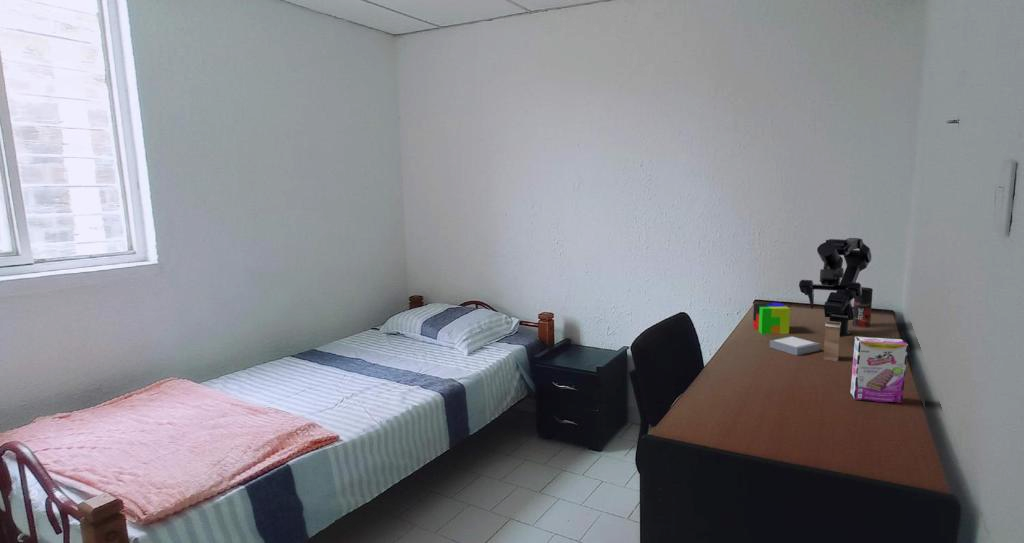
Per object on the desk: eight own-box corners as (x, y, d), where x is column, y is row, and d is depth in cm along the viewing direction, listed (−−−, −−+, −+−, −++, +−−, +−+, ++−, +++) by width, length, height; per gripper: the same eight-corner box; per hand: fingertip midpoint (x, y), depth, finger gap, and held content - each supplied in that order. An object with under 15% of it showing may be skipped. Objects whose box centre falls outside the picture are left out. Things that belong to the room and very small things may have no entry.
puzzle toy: (778, 327, 220) (780, 302, 219) (788, 334, 210) (790, 308, 209) (753, 327, 221) (753, 303, 220) (761, 334, 211) (762, 308, 210)
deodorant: (853, 327, 217) (856, 289, 214) (851, 323, 222) (853, 286, 220) (871, 328, 214) (874, 290, 212) (868, 324, 220) (870, 287, 218)
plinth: (791, 342, 199) (791, 335, 198) (819, 350, 189) (819, 343, 189) (769, 347, 194) (769, 340, 194) (797, 355, 184) (797, 347, 184)
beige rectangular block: (824, 355, 183) (826, 320, 181) (838, 357, 181) (840, 322, 179) (823, 359, 180) (825, 323, 178) (837, 361, 178) (839, 325, 176)
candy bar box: (854, 400, 146) (858, 341, 144) (849, 393, 151) (853, 335, 148) (904, 404, 142) (908, 343, 140) (897, 397, 147) (902, 338, 145)
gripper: (799, 258, 196) (793, 297, 191) (861, 260, 185) (856, 301, 179) (804, 273, 204) (798, 310, 199) (863, 275, 193) (858, 315, 187)
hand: (826, 309), depth 191 cm, fingers open, 9 cm apart
